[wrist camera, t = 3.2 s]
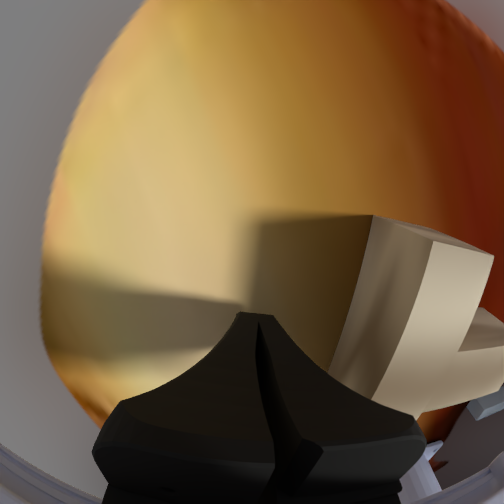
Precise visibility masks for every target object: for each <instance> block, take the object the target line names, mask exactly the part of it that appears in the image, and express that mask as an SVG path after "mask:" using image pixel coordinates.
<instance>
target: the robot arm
mask: <svg viewBox="0 0 504 504" xmlns="http://www.w3.org/2000/svg"><path fill="white" fill-rule="evenodd" d="M442 445H443V442H442V441H441V440H440V441H437V442H433V443H430V444H427V440H426V438H425V436H424V434H423V432H422V431H421V429H420V427H419V425H418V423H417V422H416V420H415V418H414V417H413V415H410V414H407V413H404V412H401V411H398V410H395V409H392V408H389V407H387V406H384V405H381V404H379V403H377V402H375V401H373V400H371V399H368V398H366V397H364V396H362V395H360V394H359V393H357V392H355V391H353V390H351V389H350V388H348V387H347V386H345V385H343V384H342V383H340V382H339V381H337V380H336V379H334V378H333V377H332V376H330V375H329V374H328V373H326V372H325V371H324V370H323V369H321V368H320V367H319V366H318V365H316V364H315V363H314V362H313V361H312V360H311V359H310V358H309V357H308V356H307V355H306V354H305V353H304V352H303V351H302V350H301V349H300V348H299V347H298V346H297V345H296V344H295V343H294V341H293V340H292V339H291V338H290V337H289V336H288V334H287V333H286V332H285V330H284V329H283V328H282V327H281V325H280V324H279V323H278V321H277V320H276V319H275V317H274V316H273V315H265V314H256V313H248V312H238V313H237V314H236V317H235V320H234V322H233V323H232V325H231V327H230V328H229V330H228V331H227V332H226V334H225V335H224V337H223V338H222V339H221V340H220V341H219V342H218V344H217V345H216V346H215V347H214V348H213V349H212V350H211V351H210V352H209V353H208V354H207V355H206V356H205V357H204V358H203V359H201V360H200V361H199V362H198V363H197V364H195V365H194V366H193V367H191V368H190V369H189V370H187V371H186V372H184V373H183V374H181V375H180V376H178V377H177V378H175V379H173V380H171V381H169V382H167V383H166V384H164V385H162V386H160V387H158V388H156V389H154V390H151V391H149V392H146V393H143V394H140V395H137V396H135V397H132V398H129V399H125V400H122V401H120V402H119V403H118V405H117V406H116V407H115V409H114V410H113V411H112V413H111V414H110V416H109V417H108V419H107V420H106V421H105V423H104V425H103V427H102V429H101V431H100V433H99V435H98V437H97V440H96V442H95V444H94V446H93V450H92V455H93V457H94V460H95V462H96V464H97V466H98V467H99V469H100V471H101V472H102V474H103V475H104V477H105V479H106V480H107V482H108V483H109V484H108V486H107V489H106V492H105V495H104V498H103V499H101V498H98V497H96V496H93V495H91V494H88V493H86V492H84V491H81V490H79V489H77V488H75V487H73V486H71V485H68V484H66V483H64V482H62V481H60V480H58V479H56V478H55V477H53V476H51V475H49V474H47V473H45V472H44V471H42V470H40V469H38V468H37V467H35V466H33V465H32V464H30V463H28V462H27V461H25V460H24V459H22V458H21V457H19V456H18V455H16V454H15V453H13V452H12V451H10V450H9V449H7V448H6V447H4V446H3V445H2V444H0V504H504V451H503V452H502V453H500V454H499V455H498V456H497V457H496V458H495V459H494V460H493V461H492V462H491V463H490V465H489V466H488V467H486V468H485V469H483V470H481V471H480V472H478V473H476V474H474V475H473V476H471V477H469V478H467V479H465V480H463V481H461V482H459V483H457V484H455V485H453V486H451V487H449V488H447V489H444V490H441V488H440V486H439V483H438V481H437V479H436V477H435V475H434V473H433V471H432V468H431V466H430V464H429V462H428V460H429V459H430V458H431V457H432V456H433V455H434V454H435V453H436V452H437V451H438V450H439V448H440V447H441V446H442Z"/></svg>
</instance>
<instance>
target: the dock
mask: <svg viewBox="0 0 504 504" xmlns="http://www.w3.org/2000/svg"><path fill="white" fill-rule="evenodd" d="M466 408H467V409H468V410H469V412H470V413H471V414H472V416H473V417H474V419H475V420H476V421H477V420H480V419H482V418H484V417H487V416H489V415H492V414H494V413H496V412H498V411H500V410H502V409H504V386H503V387H500V389H499V390H498V391H497V392H494V393H491V394H488V395H485V396H482V397H479V398H476V399H473V400H471V401H470V402H469V404H468V405H467V406H466Z"/></svg>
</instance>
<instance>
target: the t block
mask: <svg viewBox="0 0 504 504" xmlns="http://www.w3.org/2000/svg"><path fill="white" fill-rule="evenodd" d="M493 259H494V256H493V255H491V254H489V253H487V252H485V251H482V250H480V249H478V248H476V247H474V246H471V245H469V244H467V243H465V242H462V241H460V240H458V239H455V238H453V237H451V236H448V235H446V234H443V233H441V232H438V231H436V230H433V229H431V228H427V227H423V226H419V225H415V224H411V223H407V222H402V221H398V220H394V219H389V218H385V217H380V216H376V215H373V219H372V224H371V228H370V233H369V237H368V242H367V246H366V250H365V254H364V258H363V262H362V266H361V270H360V274H359V277H358V281H357V285H356V288H355V292H354V295H353V299H352V302H351V305H350V308H349V312H348V315H347V318H346V321H345V324H344V327H343V330H342V333H341V336H340V339H339V342H338V345H337V348H336V350H335V353H334V356H333V359H332V361H331V364H330V367H329V369H328V372H327V373H328V374H329V375H330V376H332V377H333V378H334V379H336V380H337V381H339V382H340V383H342V384H343V385H345V386H347V387H348V388H350V389H351V390H353V391H355V392H357V393H359V394H360V395H362V396H364V397H366V398H368V399H371V400H373V401H375V402H377V403H379V404H381V405H384V406H387V407H389V408H392V409H395V410H398V411H401V412H404V413H407V414H410V415H413V417H414V418H415V420H417V419H418V417H419V416H420V414H421V413H422V412H426V411H431V410H436V409H440V408H444V407H448V406H452V405H456V404H459V403H463V402H466V401H470V400H473V399H476V398H479V397H482V396H485V395H488V394H491V393H494V392H497V391H498V390H499V389H500V387H501V386H502V384H503V382H504V324H503V323H502V322H501V321H500V320H498V319H497V318H496V317H494V316H493V315H492V314H490V313H489V312H488V311H486V310H485V309H484V308H477V307H478V305H479V302H480V299H481V296H482V294H483V291H484V288H485V285H486V282H487V279H488V276H489V273H490V269H491V266H492V263H493Z"/></svg>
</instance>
